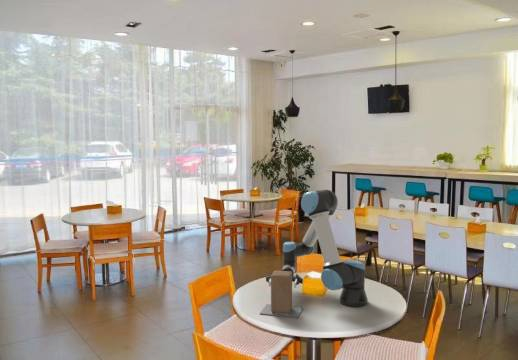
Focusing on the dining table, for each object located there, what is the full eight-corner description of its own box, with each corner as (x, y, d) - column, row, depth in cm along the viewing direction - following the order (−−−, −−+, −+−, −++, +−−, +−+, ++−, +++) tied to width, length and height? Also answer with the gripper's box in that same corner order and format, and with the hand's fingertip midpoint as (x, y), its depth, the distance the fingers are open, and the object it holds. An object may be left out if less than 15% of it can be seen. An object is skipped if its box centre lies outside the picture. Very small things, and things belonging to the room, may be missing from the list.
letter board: (303, 308, 251) (303, 307, 251) (297, 318, 238) (297, 317, 237) (266, 305, 256) (266, 303, 256) (259, 314, 243) (259, 313, 243)
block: (289, 314, 241) (289, 276, 239) (270, 313, 243) (270, 275, 241) (292, 307, 251) (292, 270, 249) (273, 306, 253) (273, 269, 251)
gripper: (309, 280, 269) (305, 292, 248) (265, 278, 273) (259, 290, 252) (309, 267, 268) (305, 278, 247) (265, 265, 272) (259, 276, 252)
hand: (282, 284), depth 250 cm, fingers open, 13 cm apart
